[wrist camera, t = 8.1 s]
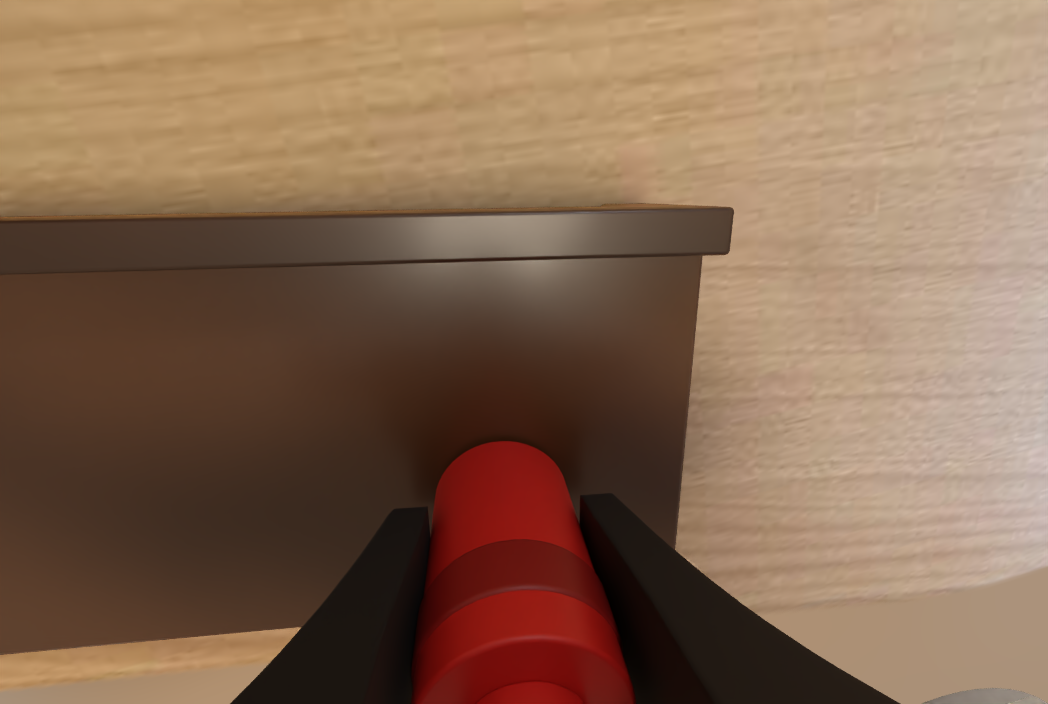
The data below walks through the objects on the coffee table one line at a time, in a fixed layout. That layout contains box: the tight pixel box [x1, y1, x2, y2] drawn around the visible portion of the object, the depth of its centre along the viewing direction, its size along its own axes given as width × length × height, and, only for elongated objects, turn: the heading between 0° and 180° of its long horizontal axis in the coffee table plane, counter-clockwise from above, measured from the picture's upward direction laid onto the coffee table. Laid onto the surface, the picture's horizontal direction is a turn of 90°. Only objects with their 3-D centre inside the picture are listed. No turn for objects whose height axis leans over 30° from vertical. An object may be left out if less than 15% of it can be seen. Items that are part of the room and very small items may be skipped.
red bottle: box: [411, 441, 636, 704], centre depth 8 cm, size 3×3×6 cm
